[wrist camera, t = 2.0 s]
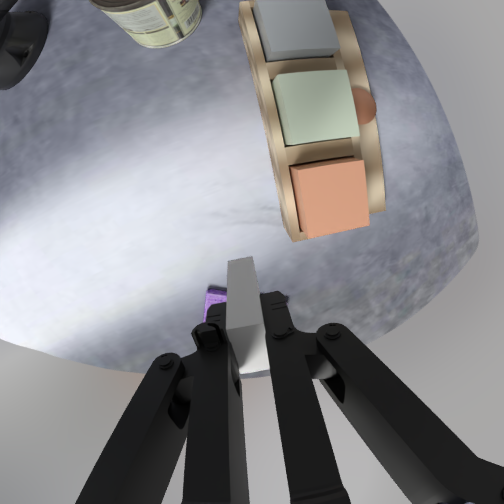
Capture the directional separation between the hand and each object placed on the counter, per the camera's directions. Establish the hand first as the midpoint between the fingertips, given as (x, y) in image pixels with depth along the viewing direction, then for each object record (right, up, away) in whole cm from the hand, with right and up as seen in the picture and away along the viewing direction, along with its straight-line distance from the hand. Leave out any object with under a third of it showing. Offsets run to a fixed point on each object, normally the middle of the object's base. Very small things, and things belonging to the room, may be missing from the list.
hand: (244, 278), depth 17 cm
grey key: (+5, +27, +7) cm, 28 cm away
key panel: (+9, +20, +15) cm, 27 cm away
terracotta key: (+9, +9, +15) cm, 20 cm away
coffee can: (-11, +33, +8) cm, 36 cm away
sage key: (+7, +18, +11) cm, 22 cm away
